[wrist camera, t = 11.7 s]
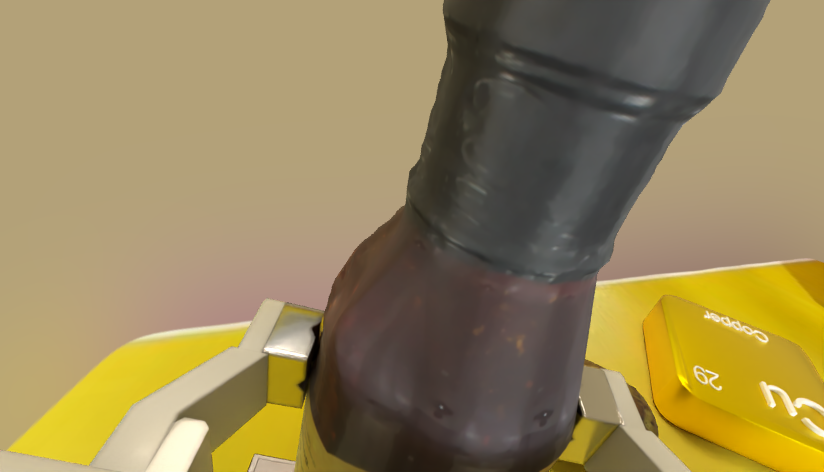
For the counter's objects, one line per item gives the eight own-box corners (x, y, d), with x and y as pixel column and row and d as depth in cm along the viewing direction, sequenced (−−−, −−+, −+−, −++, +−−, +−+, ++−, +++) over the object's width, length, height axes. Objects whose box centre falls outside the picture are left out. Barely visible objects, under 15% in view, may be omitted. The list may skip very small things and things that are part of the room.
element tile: (774, 369, 47) (806, 340, 44) (837, 500, 35) (887, 472, 32) (639, 314, 49) (661, 284, 47) (653, 418, 37) (685, 386, 35)
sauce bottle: (310, 717, 13) (664, -176, 2) (263, 507, 17) (269, -136, 6) (480, 597, 16) (982, 33, 5) (404, 446, 20) (582, -40, 9)
